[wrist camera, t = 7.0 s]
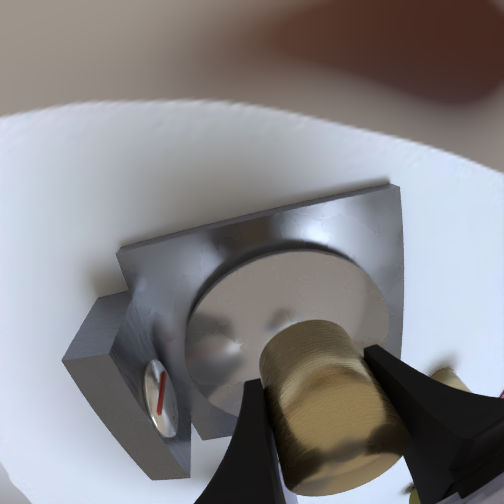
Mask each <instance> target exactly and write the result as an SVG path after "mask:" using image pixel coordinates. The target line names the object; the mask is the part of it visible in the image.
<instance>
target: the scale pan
mask: <svg viewBox="0 0 504 504" xmlns="http://www.w3.org/2000/svg"><path fill="white" fill-rule="evenodd" d="M306 320H327V321H331V322H334V323H336V324H338V325H340V326H341V327H342V328H343V329H344V330H345V331H346V332H347V333H348V335H349V336H350V338H351V339H352V341H353V342H354V344H355V346H356V347H357V349H358V350H359V352H360V353H361V355H362V357H363V358H364V350H363V348H366V347H369V346H372V345H375V344H377V345H379V346H380V347H382V348H383V349H384V347H385V344H386V340H387V336H388V328H389V318H388V310H387V306H386V302H385V300H384V297H383V295H382V293H381V291H380V289H379V288H378V286H377V285H376V283H375V282H374V281H373V280H372V279H371V278H370V277H369V275H368V274H366V273H365V272H364V271H363V270H362V269H361V268H360V267H358V266H357V265H356V264H355V263H353V262H351V261H349V260H348V259H346V258H344V257H342V256H339V255H336V254H334V253H331V252H327V251H322V250H317V249H305V248H299V249H285V250H279V251H274V252H270V253H266V254H263V255H260V256H257V257H254V258H252V259H250V260H248V261H245V262H243V263H241V264H239V265H238V266H236V267H234V268H233V269H231V270H230V271H228V272H227V273H225V274H224V275H223V276H222V277H220V278H219V279H218V280H217V281H215V282H214V283H213V285H212V286H211V287H210V288H209V289H208V290H207V291H206V292H205V293H204V295H203V296H202V297H201V299H200V300H199V301H198V303H197V305H196V306H195V308H194V310H193V312H192V314H191V317H190V320H189V322H188V325H187V330H186V336H185V348H184V356H185V362H186V367H187V370H188V373H189V376H190V378H191V380H192V382H193V383H194V385H195V387H196V388H197V389H198V390H199V392H200V393H201V394H202V395H203V396H204V397H205V398H206V399H207V400H208V401H209V402H211V403H212V404H213V405H215V406H216V407H218V408H220V409H221V410H223V411H225V412H227V413H230V414H232V415H235V416H237V417H238V416H239V412H240V408H241V403H242V398H243V389H244V383H245V381H248V380H253V379H257V378H260V379H261V375H260V371H259V359H260V356H261V353H262V351H263V349H264V347H265V346H266V344H267V343H268V342H269V341H270V339H272V338H273V337H274V336H275V335H276V334H277V333H278V332H280V331H281V330H283V329H285V328H286V327H288V326H290V325H293V324H295V323H298V322H302V321H306ZM261 382H262V380H261ZM262 386H263V385H262Z"/></svg>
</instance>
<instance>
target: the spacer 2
mask: <svg viewBox="0 0 504 504" xmlns="http://www.w3.org/2000/svg"><path fill="white" fill-rule="evenodd" d="M430 378H432V379H434V380H436V381H439V382H441V383H444V384H446V385H448V386H451V387H454V388H457V389H460V390H463V391H467V392H470V393H472V392H471V391H470V390H469V389H468V388H467V386H466V385H465V384H464V383H463V382H462V381H461V379H460V378H459V377H458V376H457V375H456V374H455V373H454V371H453V370H452V369H451V368H444V369H441V370H439V371H437V372H436V373H434V374H433V375H432V376H431V377H430Z"/></svg>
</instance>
